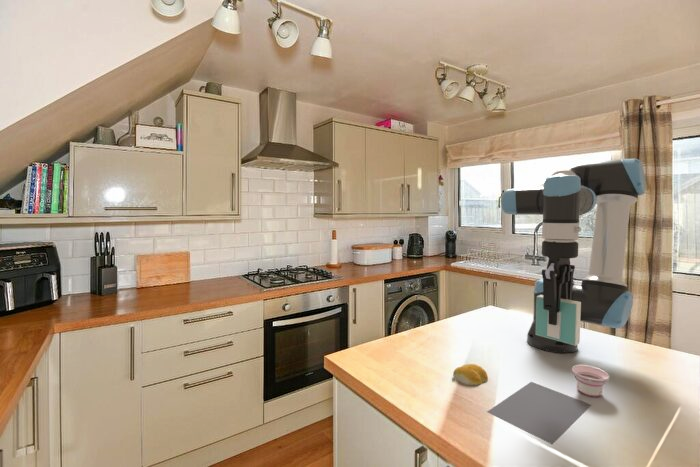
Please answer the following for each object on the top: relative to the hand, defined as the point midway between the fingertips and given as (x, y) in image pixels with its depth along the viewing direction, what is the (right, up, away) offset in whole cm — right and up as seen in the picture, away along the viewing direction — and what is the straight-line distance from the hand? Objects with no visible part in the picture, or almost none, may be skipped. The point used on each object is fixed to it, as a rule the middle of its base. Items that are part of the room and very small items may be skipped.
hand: (556, 335), depth 84 cm
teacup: (+10, -16, +3) cm, 20 cm away
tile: (0, -1, 0) cm, 1 cm away
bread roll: (-17, -16, +11) cm, 26 cm away
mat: (-6, -17, -4) cm, 18 cm away
